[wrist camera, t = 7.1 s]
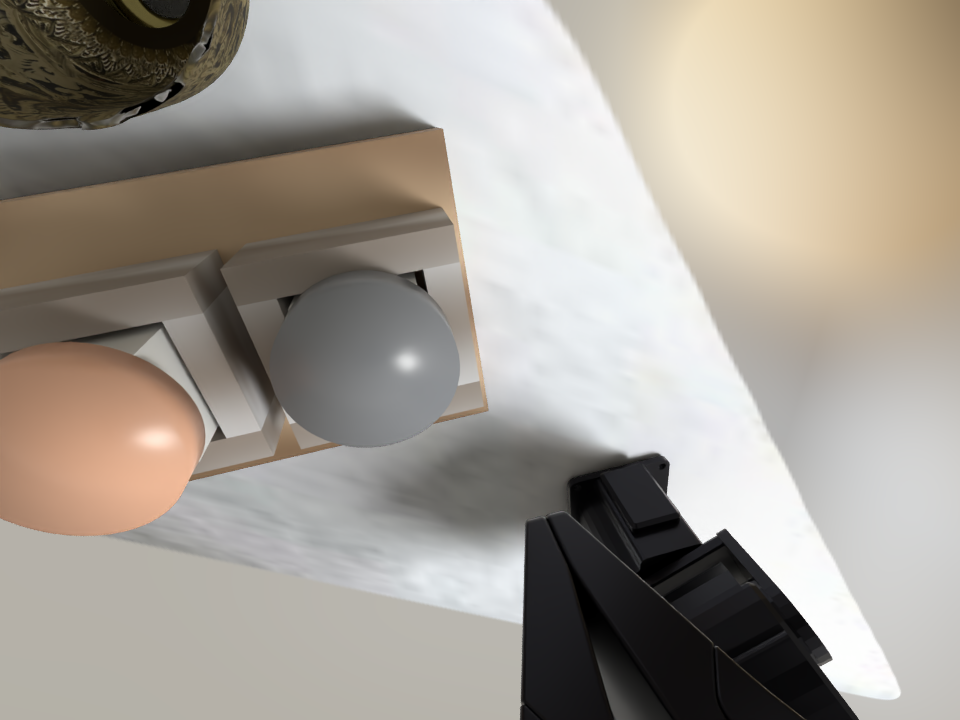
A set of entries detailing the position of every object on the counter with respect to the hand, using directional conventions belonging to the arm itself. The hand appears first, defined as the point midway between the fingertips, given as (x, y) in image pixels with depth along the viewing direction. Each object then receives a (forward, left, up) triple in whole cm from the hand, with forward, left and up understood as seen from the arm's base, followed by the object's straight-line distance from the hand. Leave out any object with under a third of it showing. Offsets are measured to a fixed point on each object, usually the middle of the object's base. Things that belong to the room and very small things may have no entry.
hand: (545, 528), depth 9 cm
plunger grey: (+1, +4, -11) cm, 11 cm away
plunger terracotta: (+1, +12, -10) cm, 15 cm away
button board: (+1, +7, -13) cm, 15 cm away
